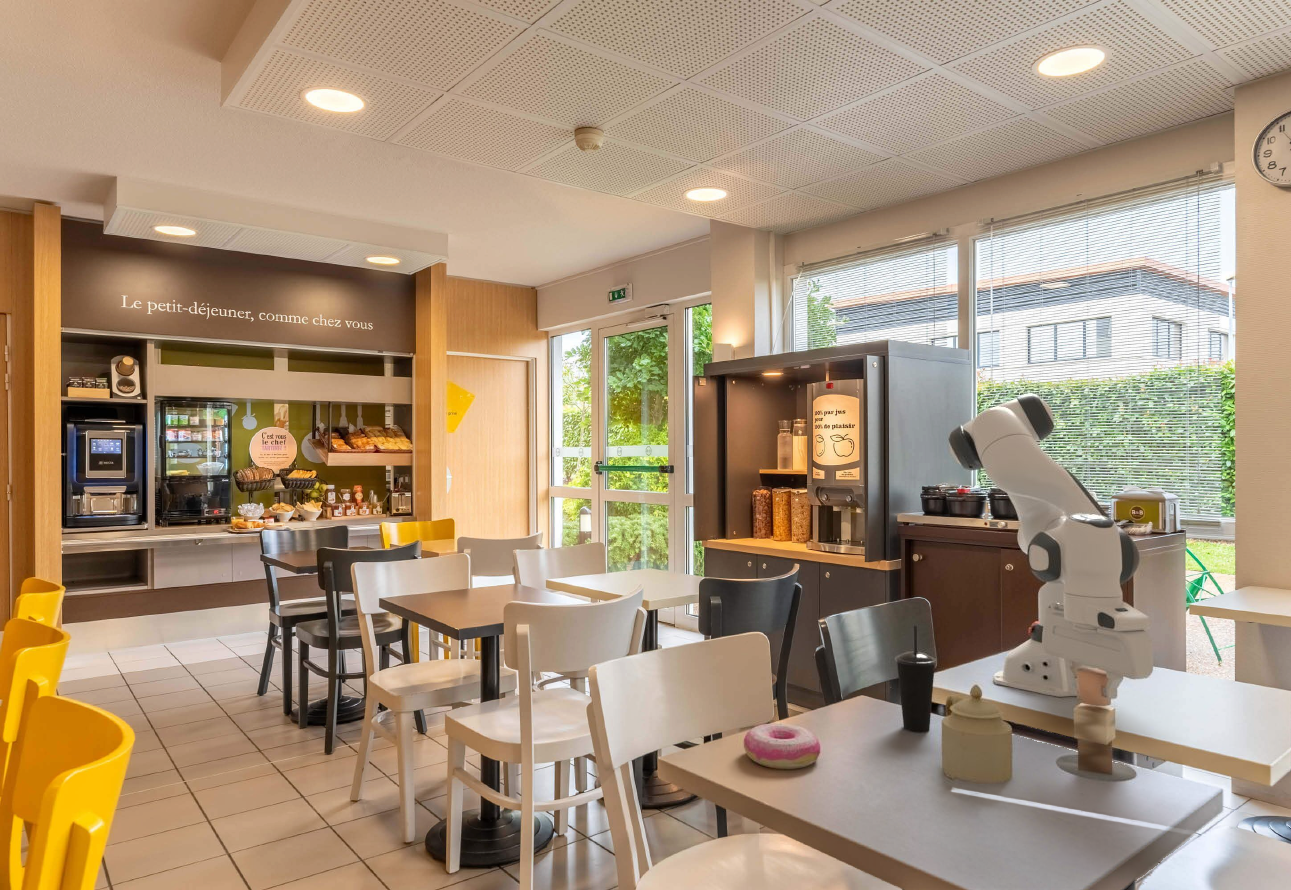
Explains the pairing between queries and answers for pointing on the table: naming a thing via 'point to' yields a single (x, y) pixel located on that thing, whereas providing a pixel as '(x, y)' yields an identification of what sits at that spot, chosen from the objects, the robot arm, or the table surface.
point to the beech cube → (1094, 723)
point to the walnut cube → (1095, 757)
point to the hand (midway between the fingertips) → (1094, 692)
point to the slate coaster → (1118, 772)
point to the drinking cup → (916, 687)
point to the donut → (781, 746)
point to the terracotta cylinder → (1091, 686)
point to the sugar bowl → (976, 740)
